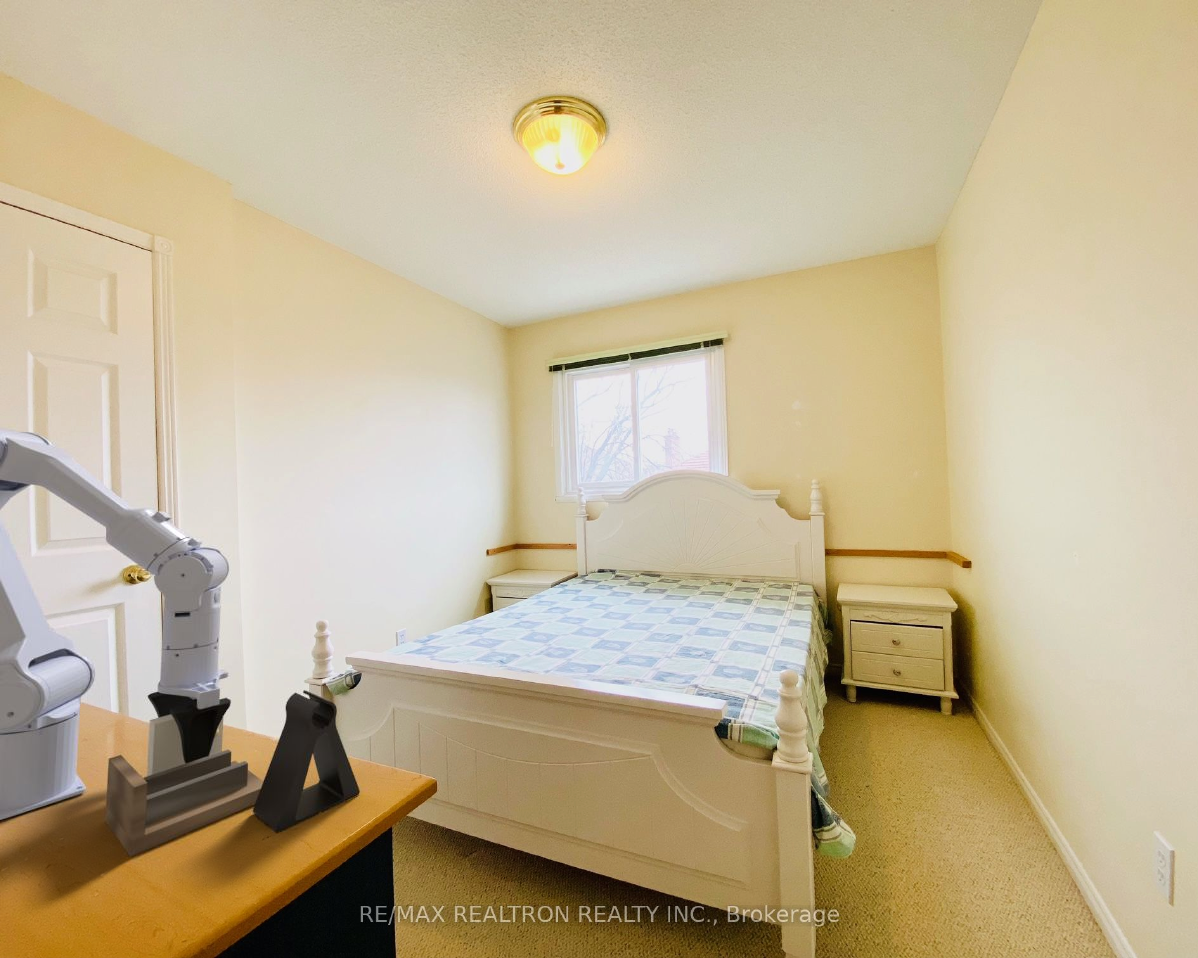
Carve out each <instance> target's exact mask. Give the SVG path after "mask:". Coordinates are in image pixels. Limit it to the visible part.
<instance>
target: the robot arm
mask: <svg viewBox="0 0 1198 958" xmlns="http://www.w3.org/2000/svg"><path fill="white" fill-rule="evenodd" d="M31 485H33V486H39V487H42V488H44V489H46V490H47V491H49V492H50V493H52V494H54V495H55V496H57V497H58V498H60V499H61V500H63V501H64V502H66V503H67V504H69V505H71V506H72V507H74V508H75V509H77V510H78V511H80V512H82V513H83V514H85V515H86V516H87V517H89V518H91V519H92V520H94V522H95V521H96V522H97V523H99V524H100V525H102V526H103V527H105V541H106V543H107V544H109V545H110V546H112V547H113V548H114V549H115V550H117V551H119V552H120V553H121V554H123V556H125V557H126V558H128V559H130V561H132V562H134V563H135V564H137V565H138V566H139V567H140V568H142V569H144V570H145V571H146V572H148V573H149V574H151V575H153V581H154V585H155V587H156V589H157V590H158V591H159V592H160V593H161V594H162V595H163V597H164V603H163V612H162V613H163V615H162V616H163V617H162V637H161V638H162V639H161V640H162V641H161V655H160V656H161V657H160V660H161V661H160V676H159V677H160V678H159V682H158V684H157V691H155V692H151V693H150V694H149V693H148V695H147V698H148V700H149V701H150V703H151V704H152V706H153V708H154V710H155V712H156V715H157V718H159V717H163V716H167V715H172V716H173V718H174V720H175V722H176V724H177V726H178V729H179V732H180V736H181V743H182V752H183V758H184V761H185V764H186V763H189V762H192V761H195V760H198V759H201V758H204V757H207V756H209V754H210V751H211V748H212V744H213V741H214V738H215V734H216V731H217V729H218V726H219V724H220V722H221V720H222V718H223V719H224V716H225V714H226V712H227V711H228V710H229V708H230V707H231V703H232V700H231V699H229V698H228V697H223V698H221V688H220V687H219V684H220V683H219V682H220V681H221V680H222V679H223V680H224V679H226V678H228V677H229V671H227V670H225V669H221V670H219V649H220V632H221V631H220V628H221V593H222V592H221V589H222V586H221V585H222V583H223V582H225V580H226V579H227V578H228V575H229V572H230V566H229V562H228V560H227V558H226V557H225V556H224V555H223V554H222V552H221V550H220V549H217V548H215V547H210V546H209V547H208V546H203V547H202V546H201V545H202V544H203V541H202V540H201V539H199V538H198V537H190V536H189V535H188V534H186V533H185V532H183V531H182V530H181V529H179V528H178V527H177V526H175V525H174V524H173V523H172V522H170V520H172V516H171V515H170V514H168V513H167V512H165V511H164V510H163V511H161V510H160V511H155V510H154V509H153V508H152V509H151V508H133V507H132V506H131V505H130V504H129V503H127V502H126V501H125V500H123V499H122V498H121V497H120V496H118V495H117V494H116V493H115V492H114V491H112V489H110V488H109V487H107V486H106V485H105V484H104V483H103V482H102V481H100V479H98V478H96V476H94V475H93V474H92V473H90V472H89V471H88V470H87V469H85V468H84V467H83V466H82V465H81V464H79V462H77V461H76V460H75V459H73V457H72V456H71V455H70V454H69V453H68V452H67V451H66V450H64V449H63V448H61V447H59V446H57V445H53V443H52V442H51V441H50V440H48V439H47V438H46V437H44V436H43V435H41V434H37V433H35V432H29V431H28V432H27V431H16V430H12V429H6V428H1V427H0V511H1V510H2V508H4V506H5V505H6V504H7V503H8V502H9V501H10V500H11V499H12V498H14V496H16V495H17V494H19V493H21V492H22V491H24V490H26V489H27V488H28V487H31ZM95 679H96V669H95V667H94V664H93V663H92V661H91V660H90V659H89V658H88V657H86V656H85V655H83V654H81V653H80V652H79V651H78V650H77V648H76V646H75V645H74V643H73V640H72V639H70V638H68V637H67V636H65V635H63V634H60V633H58V632H56V631H53V630H52V628H51V627H50V624H49V623H48V620H47V617H46V616H45V613H44V612H43V609H42V607H41V605H40V601H39V600H38V598H37V596H36V593H35V591H34V588H33V587H32V585H31V582H30V580H29V577H28V575H27V572H26V571H25V568H24V567H23V564H22V562H21V560H20V558H19V556H18V553H17V550H16V549H15V546H14V544H13V542H12V540H11V538H10V536H9V534H8V531H7V529H6V527H5V524H4V522H3V520H2V517H1V516H0V821H2V820H4V819H8V818H11V817H14V816H17V815H20V814H23V813H26V812H29V811H32V810H35V809H38V808H41V807H44V806H47V805H50V804H53V803H57V802H60V801H63V800H65V799H69V798H71V797H75V796H78V795H81V794H83V793H85V792H86V791H87V787H86V786H85V784H84V783H83V781H82V779H81V778H80V777H79V775H78V774H77V767H78V766H77V765H78V764H77V763H78V747H79V730H80V729H79V728H80V715H81V714H80V712H81V701H82V699H81V698H82V697H83V696H84V695H85V694H86V693H87V692H88V691H89V690H90V689H91V687H92V686H93V684H94V681H95Z"/></svg>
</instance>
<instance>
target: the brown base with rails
mask: <svg viewBox="0 0 1198 958" xmlns="http://www.w3.org/2000/svg"><path fill="white" fill-rule="evenodd" d="M106 780H107V781H106V782H107V784H106V799H105V802H106V803H105V822H106V823H107V825H108V827H109V828H110V829H111V831H112V832H113V834H114V835H115V836H116V838H117V840H118V841H119V842H120V844H121V845H122V847H123V849H124V850H125V851H126V853H127V855H129V857H130V858H131V857H134V856H136V855H139V854H140V853H143V852H146V851H148V850H150V849H153V848H155V847H157V846H160V845H162V844H164V843H167V842H168V841H172V840H174V839H176V838H179V837H180V836H183V835H185V834H188V833H190V832H193V831H196V830H197V829H200V828H202V827H205V826H207V825H209V824H212V823H214V822H216V821H219V820H221V819H223V818H226V817H228V816H231V815H234V814H235V813H237V812H241V811H242V810H244V809H247V808H249V807H252V806H254V805H255V803H256V800H257V797H258V795H259V792H260V789H261V787H262V784H263V781H264V779H261V778H259V777H258V776H257V775H256V774H254V773H253V772H252V771H251V770H249V763H248V762H247V761H245V760H244V761H240V762H237V761H236V760H234V761H232V750H230V749H226V750H222V752H219V753H216V754H213V755H210V756H207V757H204V758H201V759H198V760H195V761H192V762H189V763H186V764H183V765H180V766H177V767H174V768H171V769H168V770H165V771H162V772H159V773H156V774H153V775H150V776H147V775H146V776H144V777H142V775H140V773H139V772H138V771H137V770H136V769H135V767H133V766H132V765H131V764H130V762H128V761H127V760H126V758H125V757H123V755H122V754H120V755H117V756H114V757H113V756H112V757H110V758H109V757H108V764H107V779H106Z"/></svg>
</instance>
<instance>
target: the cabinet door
mask: <svg viewBox="0 0 1198 958" xmlns="http://www.w3.org/2000/svg"><path fill="white" fill-rule="evenodd" d="M223 732H224V717H223V718H222V720H221V722H220V724H219V726H218V729H217V731H216V734H215V738H214V741H213V744H212V748H211V751H210V754H209V756H210V755H213V754H216V753H219V752H222V751H223V736H224V735H223ZM183 764H185V761H184V758H183V752H182V743H181V736H180V732H179V729H178V726H177V724H176V722H175V720H174V718H173V716H172V715H167V716H163V717H159V718H158V717H156V718H152V719H150V720H149V727H148V749H147V767H146V769H147V770H146V777H147V776H150V775H153V774H156V773H159V772H162V771H165V770H168V769H171V768H174V767H177V766H180V765H183Z"/></svg>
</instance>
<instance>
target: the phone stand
mask: <svg viewBox="0 0 1198 958" xmlns="http://www.w3.org/2000/svg"><path fill="white" fill-rule="evenodd" d="M302 693H303V694H305V695H307V696H308V697H306V696H303V695H301V694H300V693H297V692H294V693H293V694H291V696H290V697H289V698H287V701H286V704H285V716H286V717H285V722H284V725H283V729H282V730H281V733H280V736H279V738H278V741H277V744H276V747H275V748H274V749H275V750H274V752H273V754H272V758H271V760H270V762H269V766H268V769H267V771H266V774H265V776H264V779H263V784H262V787H261V789H260V792H259V795H258V797H257V800H256V803H255V804H254V805H253V809H252V812H253V814H255V816H257V817H258V818H259V819H260V820H261V821H263V822H264V824H266V825H267V826H268V827H269V828H270V829H272V830H273V831H274V832H275V833H277V834H279V833H282V832H284V831H286V830H288V829H291V828H292V827H294V826H295V827H296V826H297V825H299V824H301V823H303V822H305V821H307V820H310V819H312V818H314V817H316V816H318V815H319V814H320V812H321V813H325V812H326V811H328V810H331V809H332V808H335V807H337V806H340V805H341V804H343V803H346V802H347V801H350V800H351V798H352V799H354V798H356V797H358V796H359V795H360V792H361V790H360V787H359V785H358V783H357V780H356V776H355V774H354V771H353V769H352V766H351V763H350V761H349V758H348V756H347V752H346V750H345V748H344V744H343V741H342V739H341V736H340V733H339V731H338V727H337V723H336V720H337V714H338V713H337V712H338V709H337V708H338V707H337V706H336V704H335V703H334V702H333V701H330V700H328V699H326V698H324V697H322V696H319V695H317V694H314V693H313V692H311V691H308V690H305V689H304V690H303V691H302ZM312 757H313V760H314V763H315V767H316V771H317V774H318V775H317V776H318V779H319V780H318V782H317V783H315V784H312V785H310V786H308V787H306V788H304V787H305V783H306V779H307V775H308V774H309V773H308V772H309V768H310V765H311V761H312ZM357 795H358V796H357ZM355 796H356V797H355ZM353 797H354V798H353ZM349 799H350V800H349Z"/></svg>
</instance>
